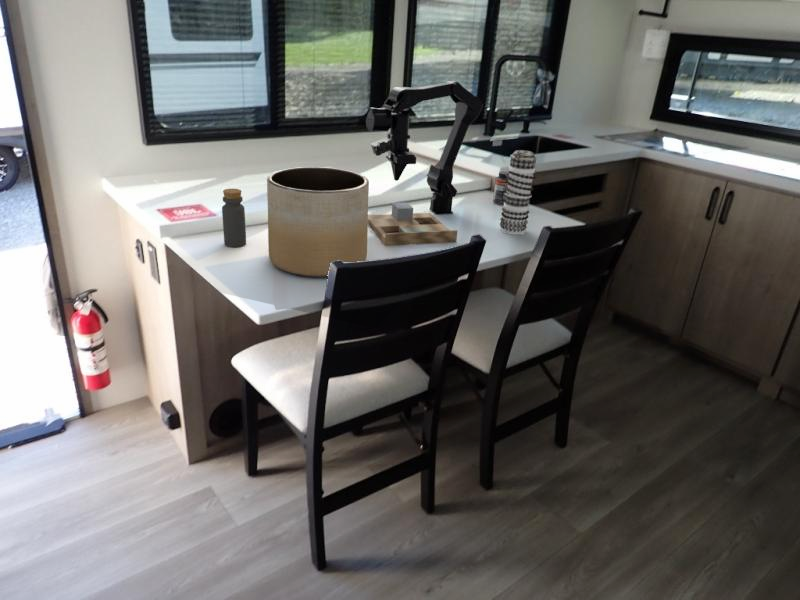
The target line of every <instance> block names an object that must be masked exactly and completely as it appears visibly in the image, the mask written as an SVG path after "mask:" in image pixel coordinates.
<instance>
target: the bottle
mask: <svg viewBox="0 0 800 600" xmlns="http://www.w3.org/2000/svg"><path fill="white" fill-rule="evenodd" d="M222 192H223V196H222V202H223V203H224V204H223V206H222V207H221V213H222V227H223V241H224V245H225V247H228V248H242V247H244V246H246V245H247V230H246V227H247V226H246V215H245V214H246V210H245V206H244V205H243V204H242V202H243V201H244V200H243V196H242V190H241V189H240V188H239V189H238V188H227V189H224V190H223V191H222Z"/></svg>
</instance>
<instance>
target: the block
mask: <svg viewBox="0 0 800 600" xmlns="http://www.w3.org/2000/svg"><path fill="white" fill-rule="evenodd" d="M391 204H392V205H391V214H392V216H393V217H394V218H395V219H396V220H397V221H411V220H413V213H414V207H413V206H412V205H411V204H409V203H408V202H392V203H391Z"/></svg>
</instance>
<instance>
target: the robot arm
mask: <svg viewBox="0 0 800 600" xmlns="http://www.w3.org/2000/svg"><path fill="white" fill-rule="evenodd" d="M445 97H450V99H451V101H452V102H454V103H455V108H454V117H455V118H454V122H453V125H452V128H451V130H450V133H449V135H448V138H447V140H446V144H445V145H444V147H443V151H442V153H441V155H440V159H439V161H438V162H437V163H436V164H435V165H433V164H430V166H429V170H428V172H427V174H426V177H427V178H426V182H427V183H426V184H427V185H428V187H429V188H430V191H431V192H432V196H431V197H430V206H429V210H430V211H431V212H432V213H433V214H435V215H445V214H446V215H452V214H454V211H453V210H452V207H453V197H456V195H457V192H458V189H457V188H456V187H454V185H453V184H452V183H453V177H454V170H453V169H454V165H455V163H456V160H457V157H458V154H459V153H460V149H461V147H462V145H463V142H464V139H465V136H466V135H467V132H468V129H469V128H470V125H471V124H472V123H473V122H474V121H476V119H477V118H478V116H479V114H480V113H481V111H482V109H483V103H482V100H481V98H480V97H479V96H476V95H474V94H473V93H472V92H470V91H469V90H467V89H466V88H465V87H464V86H463V85H462V84H461V83H460V82H458V81H454V80H448V81H447V82H440V83H436V84H431V85H430V84H429V85H425V86H420V87H419V86H418V87H409V86H396V87H393V88H391V90H390V92H389V95H388V97H387V99H386V100H385V101H384V103H383V105H382V106H381V107H380V108H377V107H369V111H368V113H367V114H366V115H367V116H366V118H365V126H366V129H367V130H368V132H387V134H386V137H384V138H381V139H379V140H376V141H374V142H371V143H370V146H371V148H372V152H373V153H372V154H375V156H382V155H383V154H385V153H388V154H387V155H386V156H385V158H386V160H388V162H389V163H390V165H391V169H392V174H393V179H394V181H395V182H396V181H397V182H398V181H399V180H400V178H401V176H402V174H403V172H404V171H405V169H406V167H407V165H416V164H417V156H416V155H415V154H414V153H412V152H410V148H408V143H409V141H408V140H409V139H411V135H410V134H409V128H410V126H409V125H410V117H416V116H417V113H416V112H414V110H413V109H412V107H415V106H417V105H418V104H420V103H421V102H426V101H429V100H430V101H431V100H437V99H439V98H445ZM388 131H389V132H388Z"/></svg>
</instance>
